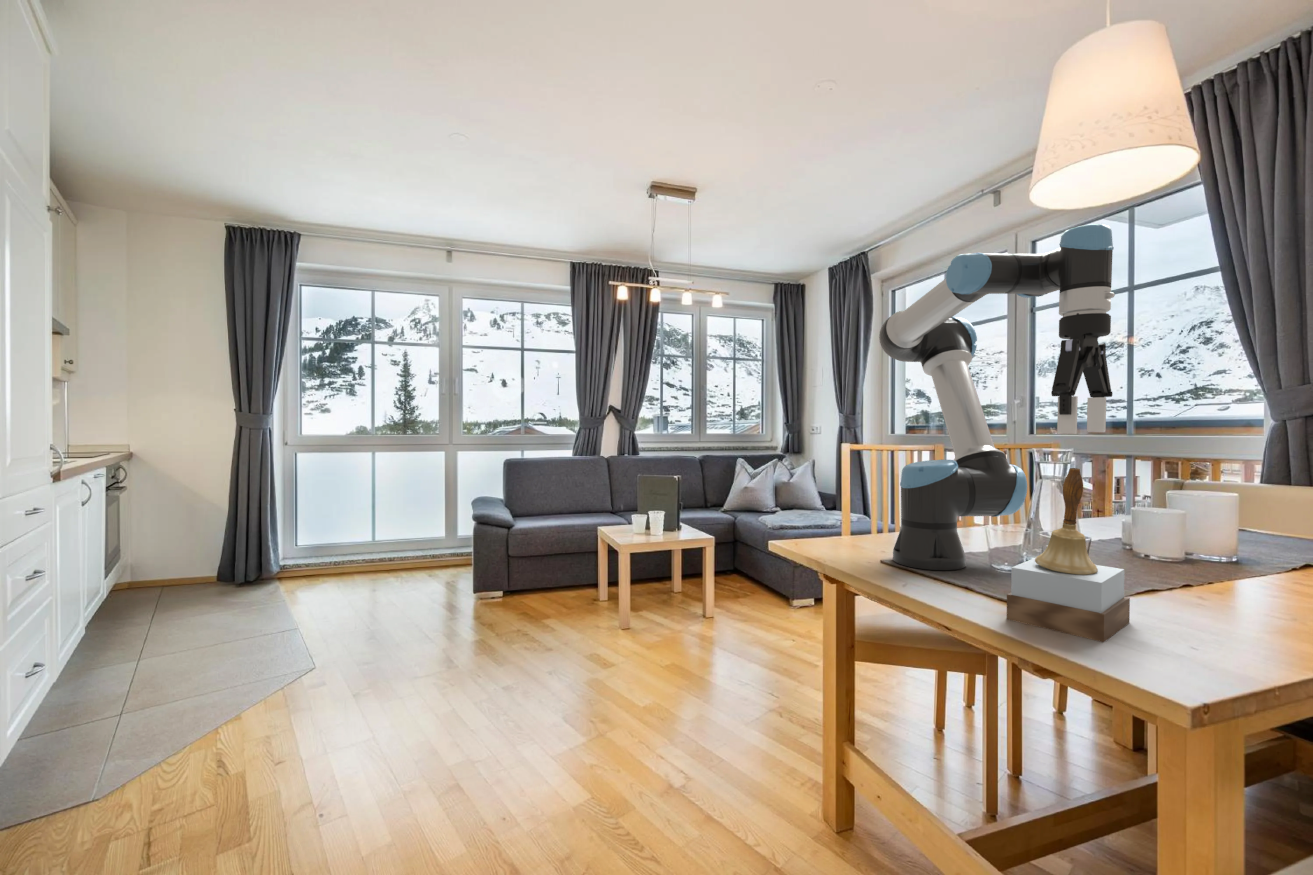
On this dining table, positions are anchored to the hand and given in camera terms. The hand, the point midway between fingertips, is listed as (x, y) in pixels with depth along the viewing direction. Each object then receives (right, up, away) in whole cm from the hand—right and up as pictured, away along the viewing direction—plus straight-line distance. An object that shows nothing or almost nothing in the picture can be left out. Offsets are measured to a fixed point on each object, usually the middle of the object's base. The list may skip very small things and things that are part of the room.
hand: (1082, 433), depth 105 cm
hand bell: (-11, -22, -12) cm, 27 cm away
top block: (-11, -26, -12) cm, 31 cm away
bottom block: (-11, -31, -11) cm, 35 cm away
